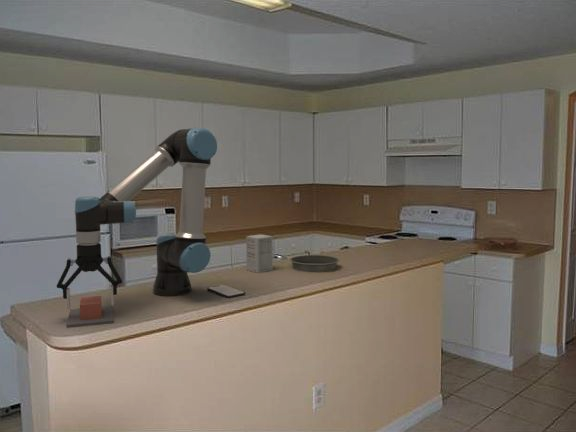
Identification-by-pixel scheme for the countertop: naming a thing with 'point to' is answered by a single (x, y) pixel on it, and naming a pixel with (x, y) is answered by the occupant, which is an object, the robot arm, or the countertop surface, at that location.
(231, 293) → the phone case
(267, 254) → the supplement box
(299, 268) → the cake pan
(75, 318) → the rubber mat
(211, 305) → the countertop surface
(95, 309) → the card deck box
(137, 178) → the robot arm
